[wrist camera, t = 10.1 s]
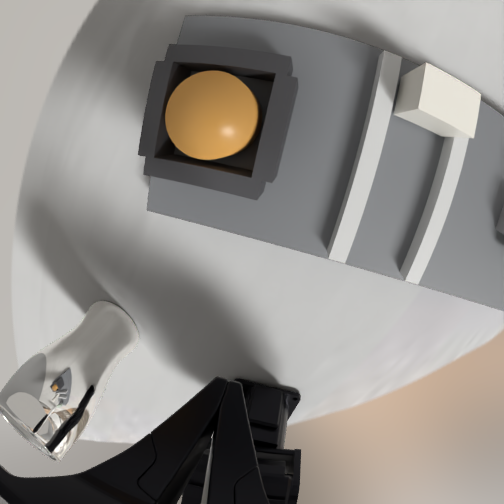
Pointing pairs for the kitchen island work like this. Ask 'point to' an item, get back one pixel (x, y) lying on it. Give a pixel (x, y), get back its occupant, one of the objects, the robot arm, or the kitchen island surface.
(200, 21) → the panel
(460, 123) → the cream rectangular brick
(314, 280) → the kitchen island surface
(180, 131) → the button
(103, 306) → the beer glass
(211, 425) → the robot arm
